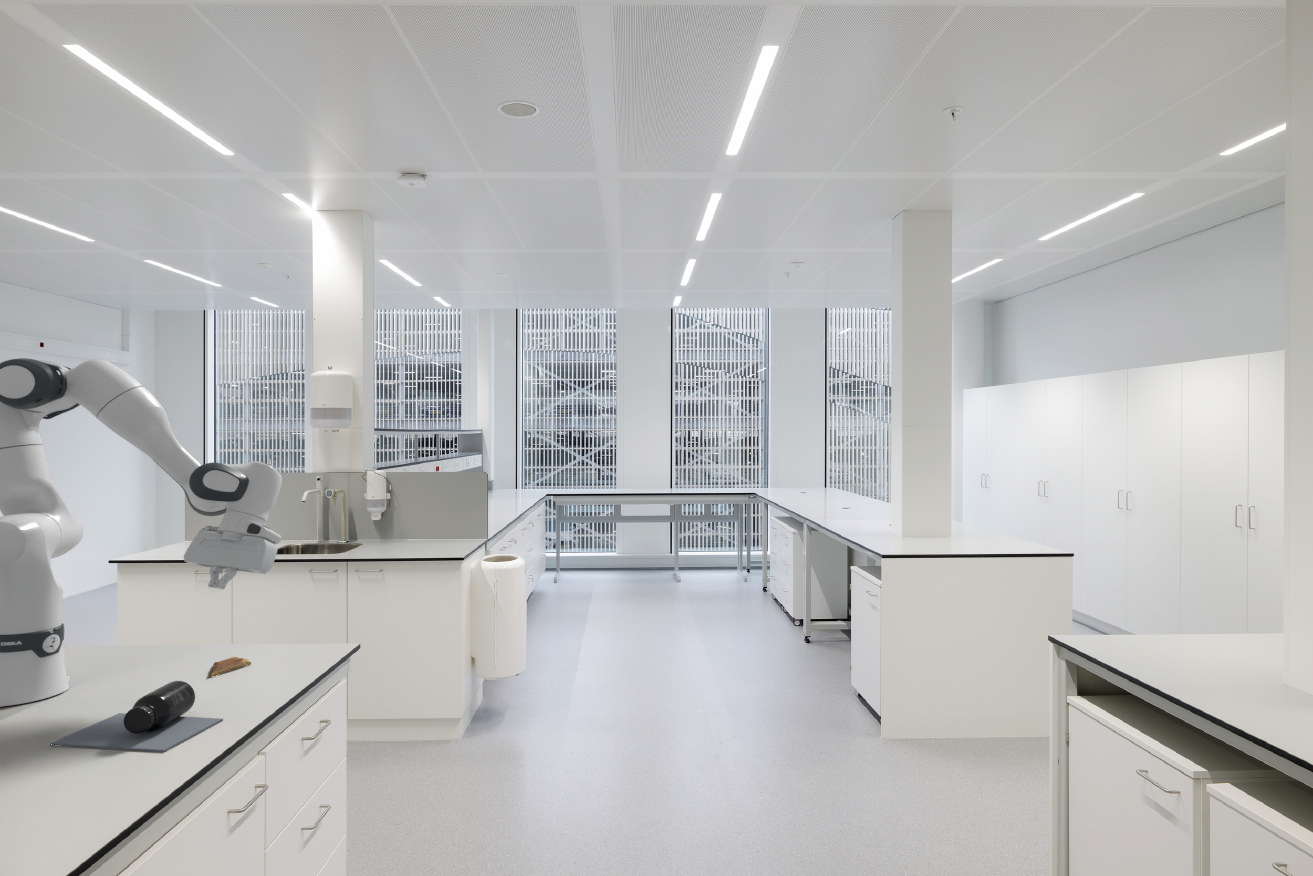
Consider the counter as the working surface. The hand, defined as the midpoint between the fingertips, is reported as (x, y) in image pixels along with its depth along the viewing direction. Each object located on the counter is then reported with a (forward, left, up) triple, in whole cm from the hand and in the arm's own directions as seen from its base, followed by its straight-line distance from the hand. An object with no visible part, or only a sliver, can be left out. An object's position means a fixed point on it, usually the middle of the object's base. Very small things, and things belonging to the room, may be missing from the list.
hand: (215, 588), depth 150 cm
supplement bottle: (+5, -15, -18) cm, 24 cm away
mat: (+4, -24, -22) cm, 33 cm away
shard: (-6, +13, -23) cm, 27 cm away
